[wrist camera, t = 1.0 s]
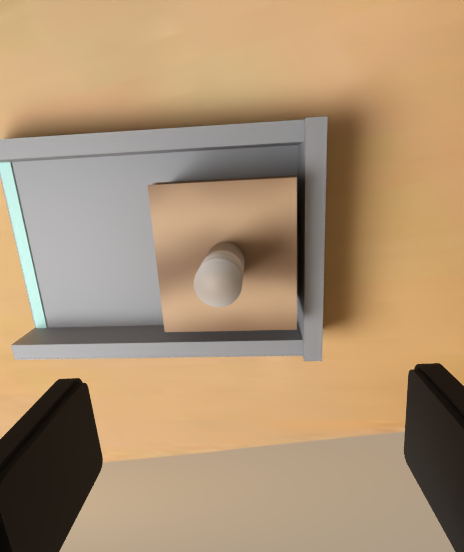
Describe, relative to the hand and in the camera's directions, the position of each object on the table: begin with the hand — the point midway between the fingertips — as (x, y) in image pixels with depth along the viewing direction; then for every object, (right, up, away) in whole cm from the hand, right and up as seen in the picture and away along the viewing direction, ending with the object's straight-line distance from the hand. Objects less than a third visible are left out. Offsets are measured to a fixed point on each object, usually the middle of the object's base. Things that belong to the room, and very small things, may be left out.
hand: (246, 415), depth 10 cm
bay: (-7, +7, +26) cm, 28 cm away
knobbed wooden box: (-1, +7, +24) cm, 25 cm away
